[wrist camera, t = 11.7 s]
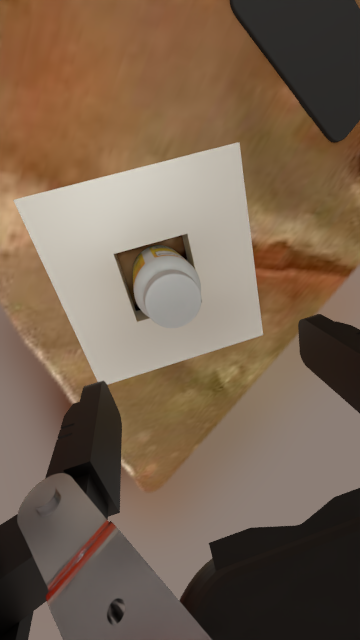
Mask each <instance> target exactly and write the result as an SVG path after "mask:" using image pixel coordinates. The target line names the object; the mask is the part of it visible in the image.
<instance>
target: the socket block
mask: <svg viewBox="0 0 360 640" xmlns="http://www.w3.org/2000/svg"><path fill="white" fill-rule="evenodd" d="M14 202H15V204H16V207H17V209H18V211H19V213H20V215H21V217H22V219H23V222H24V224H25V226H26V228H27V230H28V232H29V235H30V237H31V239H32V241H33V243H34V245H35V247H36V250H37V252H38V254H39V256H40V258H41V260H42V263H43V265H44V267H45V269H46V271H47V273H48V275H49V278H50V280H51V282H52V284H53V286H54V288H55V291H56V293H57V295H58V297H59V299H60V301H61V303H62V306H63V308H64V310H65V312H66V314H67V316H68V319H69V321H70V323H71V325H72V327H73V329H74V331H75V334H76V336H77V338H78V340H79V342H80V344H81V347H82V349H83V351H84V353H85V355H86V357H87V359H88V362H89V364H90V366H91V368H92V370H93V372H94V375H95V377H96V379H97V381H98V382H100V381H105V382H106V384H107V385H108V384H111V383H114V382H117V381H120V380H124V379H127V378H130V377H133V376H136V375H139V374H142V373H146V372H149V371H152V370H155V369H158V368H161V367H164V366H168V365H171V364H174V363H177V362H180V361H183V360H186V359H190V358H193V357H196V356H199V355H202V354H205V353H208V352H212V351H215V350H218V349H221V348H224V347H227V346H230V345H234V344H237V343H240V342H243V341H246V340H249V339H252V338H255V337H259V336H262V335H263V330H262V322H261V314H260V306H259V298H258V290H257V282H256V274H255V266H254V257H253V249H252V241H251V233H250V225H249V217H248V209H247V201H246V193H245V185H244V177H243V169H242V160H241V152H240V144H239V142H238V143H234V144H230V145H226V146H222V147H218V148H214V149H210V150H206V151H203V152H199V153H195V154H191V155H187V156H183V157H179V158H175V159H171V160H167V161H164V162H160V163H156V164H152V165H148V166H144V167H140V168H136V169H132V170H128V171H124V172H121V173H117V174H113V175H109V176H105V177H101V178H97V179H93V180H89V181H85V182H81V183H78V184H74V185H70V186H66V187H62V188H58V189H54V190H50V191H46V192H42V193H38V194H35V195H31V196H27V197H23V198H19V199H15V200H14ZM180 235H182V239H183V243H184V247H185V252H186V256H187V260H188V262H189V263H190V264H191V265H192V266H193V267H194V269H195V270H196V272H197V274H198V276H199V279H200V283H201V306H200V309H199V312H198V313H197V315H196V316H195V318H194V319H193V320H192V321H191V322H189V323H188V324H186V325H184V326H182V327H178V328H166V327H162V326H160V325H158V324H157V323H155V322H154V321H153V320H152V319H151V318H150V317H148V316H147V315H145V314H144V313H143V312H142V311H141V310H138V311H136V310H135V307H134V304H133V301H132V298H131V295H130V292H129V289H128V287H127V284H126V281H125V278H124V275H123V272H122V269H121V266H120V263H119V260H118V257H117V254H116V253H120V252H123V251H127V250H130V249H134V248H137V247H141V246H145V245H148V244H152V243H155V242H159V241H162V240H166V239H170V238H173V237H177V236H180Z"/></svg>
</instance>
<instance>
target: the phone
mask: <svg viewBox="0 0 360 640" xmlns="http://www.w3.org/2000/svg"><path fill="white" fill-rule="evenodd" d="M230 5H231V9H232V11H233V13H234V15H235V16H236V18H237V19H238V20H239V22H240V23H241V25H242V26H243V27H244V29H245V30H246V31H247V33H248V34H249V35H250V37H251V38H252V39H253V41H254V42H255V43H256V45H257V46H258V47H259V49H260V50H261V51H262V53H263V54H264V55H265V57H266V58H267V59H268V61H269V62H270V63H271V65H272V66H273V67H274V69H275V70H276V71H277V73H278V74H279V75H280V77H281V78H282V79H283V81H284V82H285V83H286V85H287V86H288V87H289V89H290V90H291V91H292V93H293V94H294V95H295V97H296V98H297V99H298V101H299V103H300V104H301V105H302V107H303V108H304V109H305V111H306V112H307V113H308V115H309V116H310V117H311V118H312V119H313V121H314V122H315V123H316V125H317V126H318V127H319V129H320V130H321V131H322V133H323V134H324V135H325V136H326V138H327V139H328V140H329V141H331V142H338V141H341V140H343V139H344V138H345V137H346V136H347V135H348V134H349V133H350V132H351V130H352V129H353V128H354V127H355V125H356V124H357V123H358V122H359V120H360V9H359V7H358V5H357V4H356V2H355V0H230Z"/></svg>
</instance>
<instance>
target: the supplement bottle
mask: <svg viewBox="0 0 360 640" xmlns="http://www.w3.org/2000/svg"><path fill="white" fill-rule="evenodd" d="M132 276H133V288H134V297H135V300H136V303H137V305H138V307H139V308H140V309H141V311H142V312H143V313H144V314H145V315H147V316H148V317H150V318H151V319H152V320H153V321H154V322H155V323H157V324H158V325H160V326H162V327H166V328H178V327H182V326H184V325H186V324H188V323H189V322H191V321H192V320H193V319H194V318H195V316H196V315H197V313H198V312H199V309H200V306H201V283H200V279H199V276H198V274H197V272H196V270H195V269H194V267H193V266H192V265H191V264H190V263H189V262H188V261H186V260H185V259H184V258H183V257H182V256H181V255H180V254H179V253H177V252H176V251H175V250H173V249H172V248H169V247H167V246H161V245H156V246H151V247H149V248H147V249H145V250H143V251H142V252H141V253H140V254H139V255H138V256H137V258H136V260H135V262H134V265H133V270H132Z"/></svg>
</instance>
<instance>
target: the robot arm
mask: <svg viewBox="0 0 360 640" xmlns="http://www.w3.org/2000/svg"><path fill="white" fill-rule="evenodd" d="M298 327H299V344H300V355H301V358H302V360H303V362H304V363H305V365H306V366H307V367H308V368H309V369H310V370H311V371H312V372H313V373H315V374H316V375H317V376H318V377H319V378H320V379H321V380H323V381H324V382H325V383H326V384H327V385H328V386H329V387H331V388H332V389H333V390H334V391H335V392H336V393H338V394H339V395H340V396H341V397H342V398H343V399H345V401H346V402H348V403H349V404H350V405H351V406H352V407H353V408H354V409H356V410H357V411H358V412H359V413H360V330H359V329H357V328H355V327H353V326H351V325H348V324H344V323H340V322H334V321H332V320H330V319H329V318H327V317H325V316H323V315H321V314H317V315H314V316H311V317H308V318H304V319H301V320H300V321H299V324H298ZM121 437H122V423H121V417H120V413H119V411H118V408H117V406H116V404H115V402H114V399H113V397H112V395H111V393H110V390H109V388H108V386H107V384H106V382H105V381H100V382H97V383H94V384H91V385H88V386H84V388H83V391H82V395H81V399H80V402H78V403H74V404H73V405H72V406H71V407H70V409H69V410H68V411H67V413H66V414H65V416H64V419H63V422H62V425H61V430H60V432H59V435H58V440H57V442H56V445H55V448H54V452H53V455H52V458H51V461H50V465H49V468H48V471H47V474H46V478H45V479H44V480H42V481H41V482H40V483H38V484H37V485H36V486H35V487H34V488H33V489H32V490H31V491H30V492H29V493H28V495H27V496H26V497H25V499H24V501H23V502H22V504H21V506H20V508H19V511H18V514H17V515H15V516H14V517H12V518H11V519H9V520H8V521H6V522H5V523H3V524H1V525H0V640H28V637H29V631H30V626H31V621H32V616H33V611H34V610H35V609H37V608H38V607H39V606H40V605H42V604H43V603H44V602H46V601H47V603H48V606H49V609H50V611H51V613H52V615H53V618H54V620H55V622H56V625H57V627H58V629H59V631H60V634H61V636H62V638H63V640H360V488H358V489H356V490H353V491H350V492H347V493H345V494H342V495H339V496H336V497H334V498H333V499H332V500H330V501H329V502H328V503H327V504H326V505H324V506H323V507H322V508H321V509H320V510H318V511H317V512H316V513H315V514H313V515H312V516H311V517H310V518H309V519H307V520H306V521H305V522H304V523H302V524H300V525H297V526H280V527H258V528H249V529H246V530H243V531H241V532H238V533H235V534H233V535H230V536H227V537H225V538H222V539H219V540H216V541H213V542H211V543H209V545H210V549H211V553H212V557H213V558H212V559H211V560H210V561H209V562H207V563H206V564H205V565H204V566H203V567H202V568H201V569H200V570H199V571H198V572H197V573H196V575H195V576H194V577H193V579H192V580H191V582H190V583H189V584H188V586H187V588H186V589H185V591H184V593H183V595H182V596H181V599H180V601H179V600H178V599H177V598H176V596H175V595H174V594H173V593H172V592H171V591H170V589H169V588H168V587H167V586H166V585H165V583H164V582H163V581H162V580H161V579H160V578H159V577H158V575H157V574H156V573H155V572H154V570H153V569H152V568H151V567H150V566H149V565H148V563H147V562H146V561H145V560H144V559H143V557H142V556H141V555H140V554H139V553H138V552H137V551H136V549H135V548H134V547H133V546H132V544H131V543H130V542H129V541H128V540H127V539H126V537H125V536H124V535H123V534H122V533H121V531H120V530H119V529H118V528H117V527H116V526H115V525H114V524H113V523H112V522H111V521H110V522H109V521H108V516H111V515H114V514H117V513H119V512H120V511H119V510H120V474H121Z"/></svg>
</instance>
